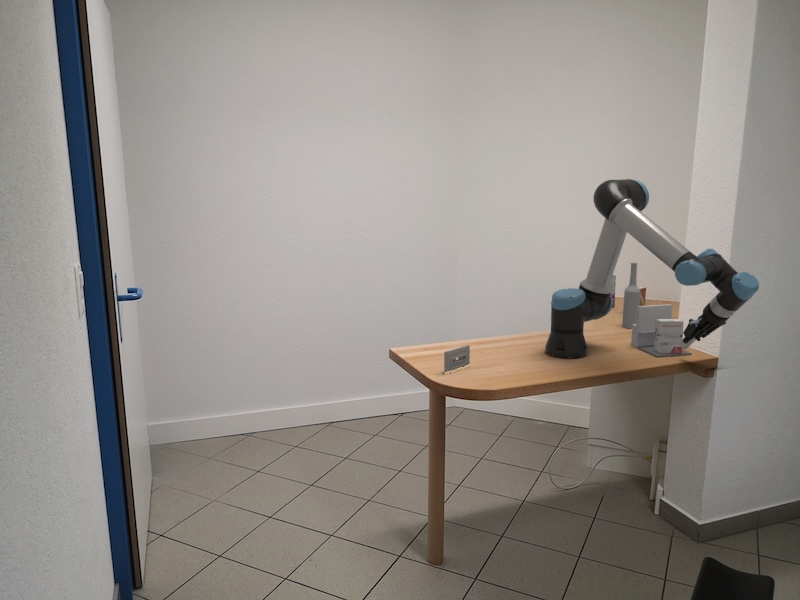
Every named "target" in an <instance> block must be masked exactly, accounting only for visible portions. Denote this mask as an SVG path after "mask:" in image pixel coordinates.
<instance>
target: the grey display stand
mask: <svg viewBox="0 0 800 600" xmlns="http://www.w3.org/2000/svg"><path fill="white" fill-rule="evenodd" d="M672 316H673V304H671V303H669V304H654V305H651V304H650V305H645V306H637V318H636V324H632V329H631V338H630V339H631V341H630V345H631V346H633V347H634V348H635V349H637V350H640V351H642V352H644V353H646V352H647V353H646V354H648V353H649V354H648V355H650V354H651V356H652V355H653V357H655V358H668V357H667V356H669V357H677V356H678V357H679V356H692V352H690V351H687V350H686V349H685V350H682V353H658V352H657V351H655V350H654V341H655V322H656V319H673V317H672Z"/></svg>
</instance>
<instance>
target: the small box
mask: <svg viewBox="0 0 800 600" xmlns="http://www.w3.org/2000/svg"><path fill="white" fill-rule="evenodd" d="M637 287H638V288H639V290H640V306H646V297H647V287H646V286H640V285H639V286H638V285H637Z"/></svg>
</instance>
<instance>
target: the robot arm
mask: <svg viewBox="0 0 800 600" xmlns="http://www.w3.org/2000/svg"><path fill="white" fill-rule="evenodd" d="M649 200H650V192H649V190H648V188H647V186H646V185H645V184H644V183H643V182H642V181H640V180H637V179H633V178H632V179H631V178H626V179H609V180H608V179H607V180H605V181H603V182H601V183H600V184H599V185H598V186H597V187H596V189H595V191H594V193H593V205H594V207H595V209H596V211H597V212H598V213H599V214H600V215H601V216H602V217H603V218H604V222H603V225H602V228H601V231H600V234H599V237H598V241H597V244H596V247H595V249H594V253H593V256H592V260H591V262H590V265H589V269H588V272H587V275H586V278H584V279H583V280H581V281H580V284H579V286H578V288H575V287H573V288H571V287H570V288H562V289H558V290H556V291H554V293H553V294H552V295H551V301H550V305H551V309H550V310H551V312H550V332H549V335H548V338H547V340H546V343H545V346H544V347H545V348H544V352H545V354H547V353H548V354H550V355H549V356H551V355H553V356H552V357H554V356H557V357H556V358H560V357H567V358H566V359H576V358H575V357H581V358H584V357H587V355H588V345H587V342H586V338H585V334H584V326H585V325H584V324H585V323H587V322H589V321H595V320H596V321H597V320H599V319H601V318H603V317H605V316H607V315H608V314H609V313H610V312H611V311H612V308H613V307H612V305H613V299H612V298H611V291H612V290H611V288H610V286H609V284H610V281H611V278H612V275H614V271H615V269H616V266H617V263H618V259H619V258H620V254H621V251H622V250H623V249H622V248H623V245H624V242H625V240H626V236H627V234H628V235H630V236H632V238H634V239H635V240H636V241H637V242H638V243H639V244H641V245H642V246H643V247H644V248H646V250H648V251H649V252H650V253H652V255H654V256H655V257H656V258H658V259H659V260H660V261H661V262H662V263H663V264H664V265H666V266H667V267H668V268H669V269H670V270H671V271H673V272H674V276H675V279H676V281H677V283H679V284H680V285H682V286H686V287H689V286H690V287H692V286H698V285H702V284H704V283H711V284H712V285H713V287H715V288H716V289H717V290H718V291H719V292H718V293H717V294H716V295H715V296H714V297H713V298H711V300H710V301H709V302H708V303H707V304H706V305H705V306H704V308H703V311H702V314H701V315H699V316H698V317H697V319H693V318H690V319H688V324H687V326H686V327H685V329H684V330H683V340H682V341H681V342H680V345H681V348H682V350H685V351H686V350H688V348H689V347H691V346H692V345H693V343H695V342H696V341H697V342H701V338H702V339H705V338H706V337H707V336H710V334H712V333H713V332H715V331H716V330H718V329H719V328H721V327H722V326H725V325H726V324H727V321H728V320H729V319H730V318H731V317H732V316H733V315H734V314H735V313H736V312H737V311H738V310H739V309H740V308H741V307H743V306H744V304H746V303H747V302H748V301H749V300H750V299H752V298H753V296H754V295H755V294H756V292H758V290H759V288H760V284H759V281H758V278H757V277H756V276H754V275H753V274H750V273H749V272H747V271H741V272H738V271H737V270H736V269H734V267H733V266H731V264H729V263H728V261H727V260H726V259H725V258H723V256H722V255H721V254H720V253H719V252H717V250H715V249H714V248H707V249H705V250H704V251H701V253H699V254H698V255H697V256H696V254H694V253H693V252H692V251H691V250H689V249H688V248H686V247H685V245H683V244H682V243H681V242H679V241H678V240H677V239H675V238H674V237H673V236H672V235H671V234H669V233H668V232H667V231H665V229H663V228H662V227H661V226H659V224H657V223H655V222H654V221H653V220H652V219H651V218H649V217H648V216H647V215H646V214H644V213H643V212H642V211H643V210H644V209H645V210H646V208H647V206H648V205H649V202H650V201H649ZM548 354H547V355H548ZM583 356H584V357H583ZM568 357H570V358H568Z"/></svg>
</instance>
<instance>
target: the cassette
mask: <svg viewBox="0 0 800 600" xmlns="http://www.w3.org/2000/svg"><path fill="white" fill-rule="evenodd" d="M470 348H471V347H470V345H468V344H467V345H463V346H461V347H457V348H453V349H449V350H446V351H444V353H443V355H444V356H443V358H444V359H443V360H444V364H443V366H444V368H443V370H444V371H445V372H447V371H450V370H451V371H452V370H455V369H457V368H460V367H464V366H466V365H468V364H470V362H471V361H470V358H471V357H470V355H471V354H470V352H471V350H470ZM457 358H458V359H457Z"/></svg>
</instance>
